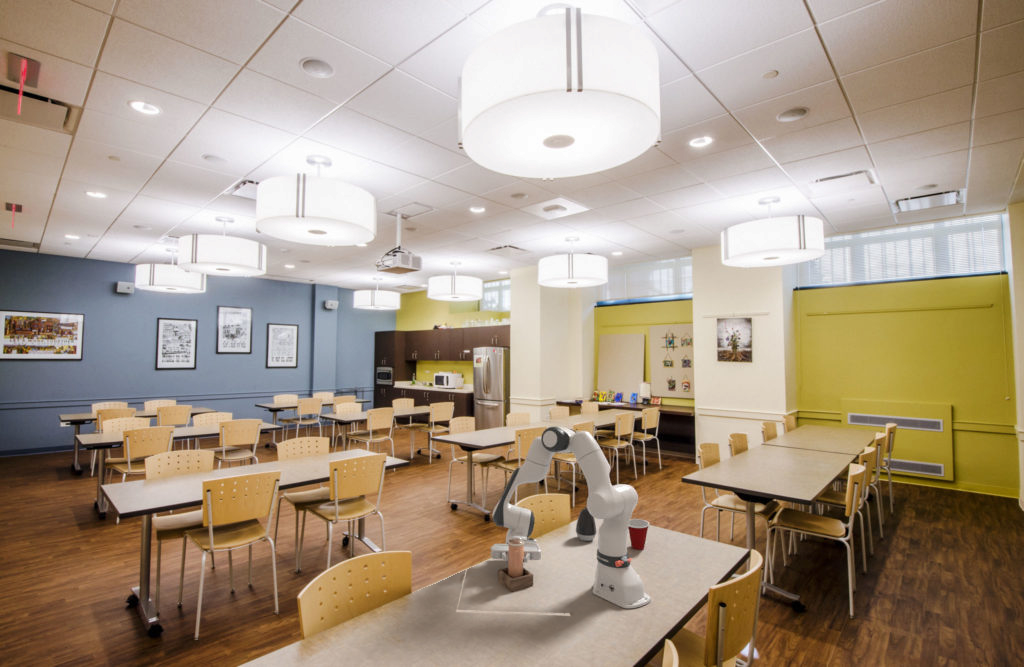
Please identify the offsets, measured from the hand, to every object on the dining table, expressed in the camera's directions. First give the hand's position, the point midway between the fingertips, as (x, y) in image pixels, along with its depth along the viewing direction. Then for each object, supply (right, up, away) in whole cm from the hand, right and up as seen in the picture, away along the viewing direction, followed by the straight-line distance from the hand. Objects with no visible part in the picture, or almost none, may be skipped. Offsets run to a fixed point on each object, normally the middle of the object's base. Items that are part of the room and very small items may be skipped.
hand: (515, 560), depth 185 cm
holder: (0, -10, 0) cm, 10 cm away
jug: (0, -9, -1) cm, 9 cm away
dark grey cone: (+35, -14, +51) cm, 64 cm away
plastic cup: (+59, -14, +42) cm, 73 cm away
